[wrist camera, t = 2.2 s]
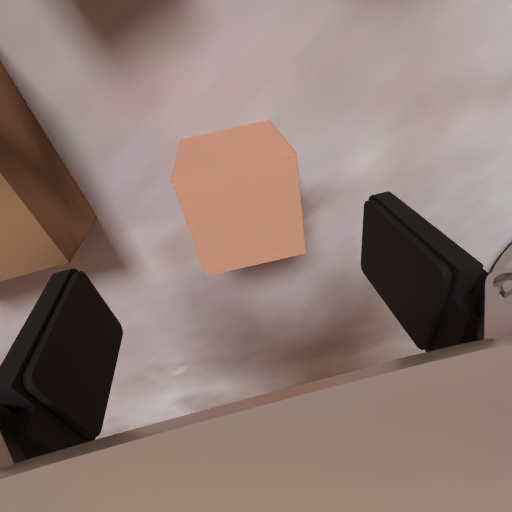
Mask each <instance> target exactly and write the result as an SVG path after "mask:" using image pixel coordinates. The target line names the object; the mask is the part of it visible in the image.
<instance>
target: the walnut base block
mask: <svg viewBox="0 0 512 512" xmlns="http://www.w3.org/2000/svg"><path fill="white" fill-rule="evenodd" d="M96 217H97V216H96V215H95V213H94V211H93V210H92V208H91V207H90V205H89V203H88V202H87V200H86V199H85V197H84V195H83V194H82V192H81V191H80V189H79V187H78V186H77V184H76V182H75V181H74V179H73V178H72V176H71V174H70V173H69V171H68V170H67V168H66V166H65V165H64V163H63V162H62V160H61V158H60V157H59V155H58V153H57V152H56V150H55V149H54V147H53V145H52V144H51V142H50V141H49V139H48V137H47V136H46V134H45V133H44V131H43V129H42V128H41V126H40V124H39V123H38V121H37V120H36V118H35V116H34V115H33V113H32V112H31V110H30V108H29V107H28V105H27V104H26V102H25V100H24V99H23V97H22V96H21V94H20V92H19V91H18V89H17V87H16V86H15V84H14V83H13V81H12V79H11V78H10V76H9V75H8V73H7V71H6V70H5V68H4V67H3V65H2V63H1V62H0V281H4V280H8V279H11V278H15V277H19V276H23V275H26V274H30V273H34V272H37V271H41V270H45V269H49V268H52V267H56V266H60V265H64V264H67V263H70V261H71V259H72V258H73V256H74V254H75V253H76V251H77V249H78V248H79V246H80V244H81V242H82V241H83V239H84V237H85V236H86V234H87V232H88V231H89V229H90V227H91V226H92V224H93V222H94V221H95V219H96Z"/></svg>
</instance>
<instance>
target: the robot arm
mask: <svg viewBox="0 0 512 512" xmlns="http://www.w3.org/2000/svg"><path fill="white" fill-rule="evenodd" d="M361 268H362V271H363V273H364V274H365V276H366V277H367V278H368V280H369V281H370V283H371V284H372V285H373V287H374V288H375V289H376V291H377V292H378V294H379V295H380V296H381V298H382V299H383V300H384V302H385V303H386V305H387V306H388V307H389V309H390V310H391V311H392V313H393V314H394V316H395V317H396V318H397V320H398V321H399V322H400V324H401V325H402V326H403V328H404V329H405V331H406V332H407V333H408V335H409V336H410V337H411V339H412V340H413V342H414V343H415V344H416V346H417V347H418V348H419V349H421V350H424V349H425V350H426V353H421V354H417V355H413V356H409V357H405V358H401V359H397V360H393V361H389V362H385V363H382V364H378V365H374V366H370V367H366V368H362V369H359V370H355V371H351V372H347V373H343V374H339V375H336V376H332V377H328V378H324V379H320V380H316V381H313V382H309V383H305V384H301V385H297V386H294V387H290V388H286V389H282V390H279V391H275V392H271V393H267V394H264V395H260V396H256V397H252V398H248V399H245V400H241V401H237V402H233V403H230V404H226V405H222V406H219V407H215V408H211V409H207V410H204V411H200V412H196V413H192V414H189V415H185V416H181V417H178V418H174V419H170V420H167V421H163V422H159V423H156V424H152V425H148V426H144V427H141V428H137V429H133V430H130V431H126V432H122V433H119V434H115V435H111V436H108V437H104V438H100V439H97V440H95V437H97V436H98V435H99V434H100V432H101V429H102V425H103V420H104V416H105V411H106V407H107V402H108V398H109V394H110V389H111V385H112V380H113V376H114V371H115V367H116V362H117V358H118V353H119V349H120V344H121V340H122V335H123V331H122V327H121V324H120V323H119V321H118V320H117V319H116V317H115V316H114V314H113V313H112V311H111V310H110V308H109V307H108V306H107V304H106V303H105V301H104V300H103V298H102V297H101V296H100V294H99V293H98V291H97V290H96V288H95V287H94V286H93V284H92V283H91V281H90V280H89V278H88V277H87V275H86V274H85V273H84V272H82V271H80V272H79V271H78V270H76V269H69V270H65V271H61V272H57V273H54V274H53V275H52V276H51V278H50V280H49V282H48V283H47V285H46V287H45V289H44V291H43V292H42V294H41V296H40V298H39V299H38V301H37V303H36V305H35V306H34V308H33V310H32V312H31V313H30V315H29V317H28V319H27V320H26V322H25V324H24V326H23V327H22V329H21V331H20V333H19V334H18V336H17V338H16V340H15V341H14V343H13V345H12V347H11V348H10V350H9V352H8V354H7V355H6V357H5V359H4V361H3V363H2V364H1V366H0V512H512V244H511V245H510V246H509V247H508V249H507V250H506V251H505V252H504V253H503V254H502V256H501V257H500V258H499V260H498V261H497V263H496V264H495V266H494V268H493V270H492V272H491V273H490V274H489V273H487V272H486V271H485V270H484V269H482V268H483V264H481V263H480V262H479V261H477V260H476V259H475V258H474V257H472V256H471V255H470V254H469V253H467V252H466V251H465V250H463V249H462V248H461V247H460V246H458V245H457V244H456V243H455V242H453V241H452V240H451V239H449V238H448V237H447V236H446V235H444V234H443V233H442V232H441V231H439V230H438V229H437V228H435V227H434V226H433V225H432V224H430V223H429V222H428V221H427V220H425V219H424V218H423V217H421V216H420V215H419V214H418V213H416V212H415V211H414V210H413V209H411V208H410V207H409V206H407V205H406V204H405V203H404V202H402V201H401V200H400V199H399V198H397V197H396V196H395V195H393V194H392V193H391V192H384V193H380V194H376V195H371V196H370V198H369V201H366V202H365V204H364V216H363V235H362V253H361Z"/></svg>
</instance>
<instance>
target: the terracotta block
mask: <svg viewBox="0 0 512 512" xmlns="http://www.w3.org/2000/svg"><path fill="white" fill-rule="evenodd" d="M171 181H172V184H173V187H174V189H175V192H176V195H177V198H178V200H179V203H180V206H181V209H182V211H183V214H184V217H185V220H186V223H187V225H188V228H189V231H190V234H191V236H192V239H193V242H194V245H195V247H196V250H197V253H198V256H199V258H200V261H201V264H202V267H203V269H204V272H205V275H206V276H210V275H214V274H218V273H223V272H227V271H231V270H236V269H240V268H245V267H249V266H253V265H258V264H262V263H266V262H271V261H275V260H279V259H284V258H288V257H293V256H297V255H301V254H306V251H305V240H304V229H303V218H302V207H301V197H300V186H299V175H298V164H297V153H296V151H295V150H294V149H293V148H292V147H291V145H290V144H289V143H288V142H287V140H286V139H285V138H284V137H283V136H282V134H281V133H280V132H279V131H278V130H277V128H276V127H275V126H274V125H273V124H272V122H271V121H270V120H266V121H261V122H257V123H252V124H248V125H243V126H239V127H234V128H230V129H225V130H221V131H216V132H212V133H208V134H203V135H199V136H194V137H190V138H185V139H181V140H180V143H179V148H178V152H177V157H176V161H175V166H174V170H173V175H172V179H171Z"/></svg>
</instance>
